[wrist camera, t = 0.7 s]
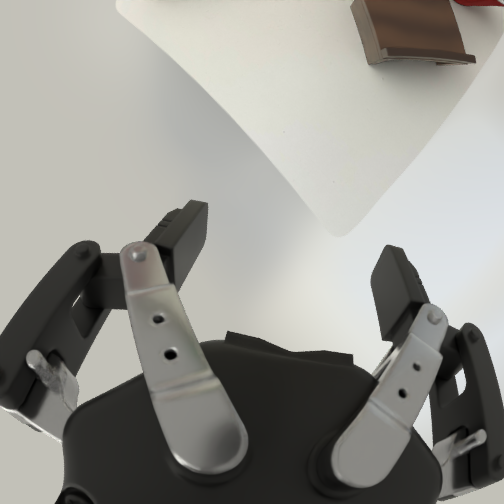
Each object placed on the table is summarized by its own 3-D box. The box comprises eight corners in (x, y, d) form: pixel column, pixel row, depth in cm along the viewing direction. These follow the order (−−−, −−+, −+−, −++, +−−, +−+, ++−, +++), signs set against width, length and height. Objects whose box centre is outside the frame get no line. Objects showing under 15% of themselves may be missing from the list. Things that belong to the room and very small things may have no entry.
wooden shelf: (350, 6, 21) (363, -16, 14) (427, 10, 18) (456, -4, 11) (368, 64, 26) (388, 57, 19) (443, 65, 23) (476, 64, 15)
